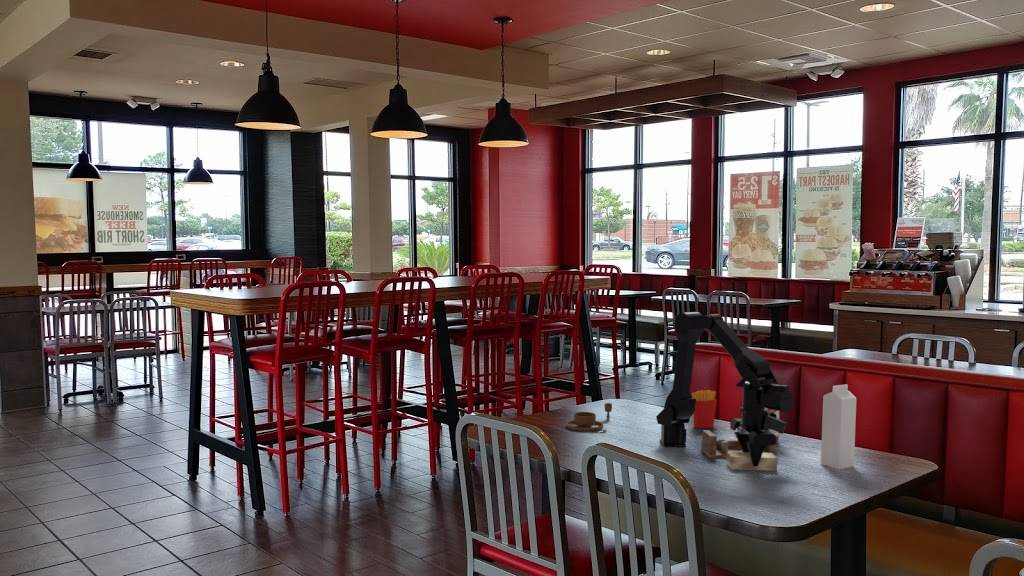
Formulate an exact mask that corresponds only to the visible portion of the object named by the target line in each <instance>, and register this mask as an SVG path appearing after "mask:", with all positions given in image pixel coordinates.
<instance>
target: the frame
mask: <svg viewBox="0 0 1024 576" xmlns="http://www.w3.org/2000/svg"><path fill="white" fill-rule="evenodd" d="M762 431H764V430H762ZM701 438H702V440H701V441H700V442H701V444H700V445H701V452H702V453H704V455H706V456H707V457H708V458H709V459H727V452H742V449H741V447H740V444H739V442H738V440H737V439H725V438H718V437H717V435H716V434H714V433H713V432H712V431H711V430H708V429H703V430H702V437H701ZM763 453H773V454H774V455H775V456H776V457H777V456H778V455H777V445H768V446H767V447H766V448H765V449H764V451H763ZM777 458H778V457H777Z"/></svg>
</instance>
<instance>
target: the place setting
mask: <svg viewBox="0 0 1024 576" xmlns="http://www.w3.org/2000/svg"><path fill="white" fill-rule="evenodd" d="M612 410H613V404H612V403H610V402H605V403H604V411H605V412H606V421H611V420H610V418H611V417H610V415H611V414H610V413H611V412H612ZM596 416H597V414H596V413H594V412H589V411H576V412H575V413H574V414H573V419H572V420H569V421H566V422H565V427H566V428H567V429H569V430H571V429H572V431H575V430H577V431H576V432H583V431H591V432H593V433H592V434H596V433H595V432H599V431H603V432H604V433H607V429H603V427H604V423H603V422H601V421H599V420H596V418H597V417H596ZM572 424H573V425H572ZM574 425H576V426H574ZM596 425H598V426H596ZM593 426H596V427H593ZM600 429H601V430H600ZM602 429H603V430H602ZM597 430H598V431H597Z"/></svg>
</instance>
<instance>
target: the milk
mask: <svg viewBox="0 0 1024 576" xmlns="http://www.w3.org/2000/svg"><path fill="white" fill-rule="evenodd" d="M848 386H849V385H848V384H847V383H846V384H845V383H844V384H838V385H833V386H832V391H831V392H828V393H826V394H824V395H823V398H822V421H821V422H822V424H821V447H820V448H821V449H820V451H821V452H820V465H822V466H825V465H826V466H825V467H828V466H829V468H832V469H835V468H836V469H835V470H838V469H839V470H840V469H841V470H845V468H846V469H849V468H854V466H855V448H856V446H855V442H856V423H857V422H856V421H857V419H856V418H857V417H856V416H857V397H856V396H855V395H854V394H853V393H852V392H851V391H850V390H848ZM841 470H840V471H841Z"/></svg>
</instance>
